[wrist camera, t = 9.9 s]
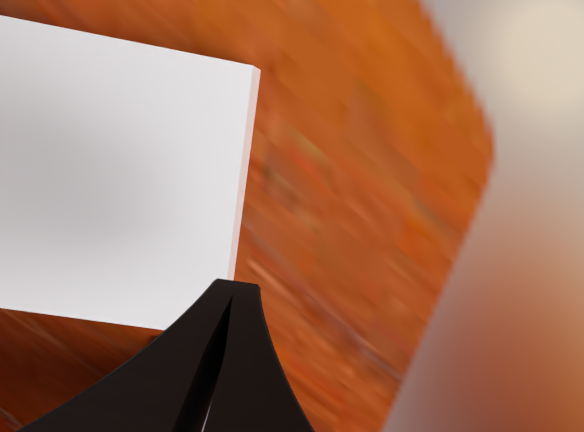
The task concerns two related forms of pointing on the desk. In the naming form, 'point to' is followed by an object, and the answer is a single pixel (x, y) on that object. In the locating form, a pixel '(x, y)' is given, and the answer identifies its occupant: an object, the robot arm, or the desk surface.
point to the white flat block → (117, 174)
